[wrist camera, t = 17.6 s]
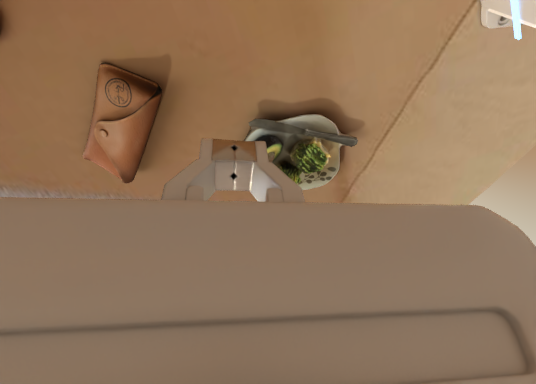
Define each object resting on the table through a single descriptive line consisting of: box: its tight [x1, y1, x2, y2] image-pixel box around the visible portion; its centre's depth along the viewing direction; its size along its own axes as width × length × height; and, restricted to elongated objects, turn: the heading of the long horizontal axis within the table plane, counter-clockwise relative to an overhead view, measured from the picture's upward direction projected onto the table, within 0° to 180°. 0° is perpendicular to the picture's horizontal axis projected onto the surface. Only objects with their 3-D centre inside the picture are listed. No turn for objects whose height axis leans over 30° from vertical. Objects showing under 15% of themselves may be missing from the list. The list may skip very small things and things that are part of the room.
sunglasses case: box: [83, 63, 162, 183], centre depth 43 cm, size 18×7×7 cm, turn 151°
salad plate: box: [244, 114, 358, 190], centre depth 49 cm, size 19×18×5 cm
